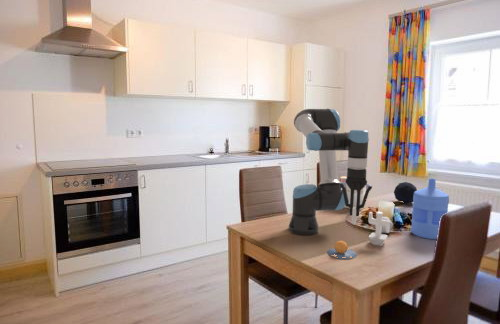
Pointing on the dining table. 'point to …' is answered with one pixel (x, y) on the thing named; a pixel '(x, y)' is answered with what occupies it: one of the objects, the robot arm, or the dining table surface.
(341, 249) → the ball
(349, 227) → the dining table surface
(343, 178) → the coffeecake box
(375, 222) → the figurine
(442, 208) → the water jug
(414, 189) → the decorative orb
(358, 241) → the dining table surface
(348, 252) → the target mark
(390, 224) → the die
